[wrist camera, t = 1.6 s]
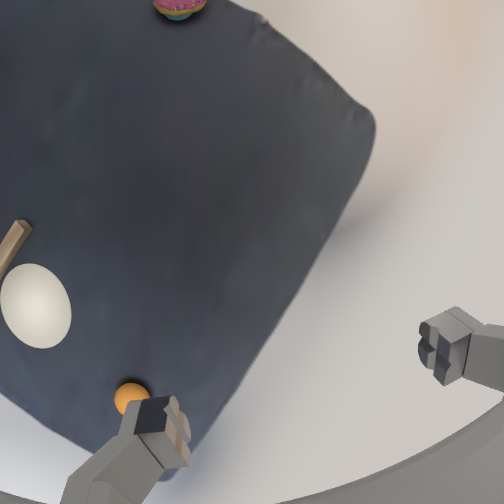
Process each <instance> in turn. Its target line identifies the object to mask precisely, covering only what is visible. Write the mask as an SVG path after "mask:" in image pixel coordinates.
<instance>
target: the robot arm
mask: <svg viewBox="0 0 504 504" xmlns="http://www.w3.org/2000/svg"><path fill="white" fill-rule="evenodd" d="M419 334H420V335H421V336H422V338H421V340H420V342H419V344H418V353H419V357H420V360H421V362H422V363H423V364H424V366H425V367H426V368H428V369H432V370H434V373H433V376H434V377H435V378H436V379H437V380H438V381H439V382H440V383H441V384H442V385H443V386H446V385H448V384H450V383H452V382H453V381H455V380H457V379H459V378H461V377H463V378H466V379H468V380H471V381H473V382H476V383H479V384H482V385H484V386H487V387H490V388H493V389H495V390H498V391H501V392H504V326H499V325H492V324H486V325H483V324H482V323H480V322H479V321H478V320H476V319H475V318H474V317H472V316H470V315H469V314H468V313H466V312H465V311H463V310H462V309H461V308H459V307H455V306H454V307H452V308H450V309H448V310H447V311H444V312H443V313H441V314H439V315H437V316H435V317H432V318H430V319H428V320H426V321H424V322H421V325H420V327H419ZM178 409H179V403H178V401H177V400H176V398H175V397H174V396H172V395H171V396H164V397H156V398H148V399H141V400H131V401H129V402H128V403H127V406H126V409H125V412H124V416H123V419H122V423H121V426H120V430H119V433H118V436H114V437H112V438H111V439H110V440H109V441H108V442H107V443H106V444H105V445H104V446H103V447H102V448H100V449H99V450H98V451H97V452H96V453H95V454H94V455H93V456H92V457H91V458H89V459H88V460H87V461H86V462H85V463H84V464H83V465H82V466H81V467H80V468H79V469H77V470H76V471H75V472H74V473H73V474H72V475H70V476H69V477H68V480H67V483H66V486H65V489H64V492H63V495H62V499H61V502H60V504H141V503H142V502H143V501H144V499H145V498H146V496H147V495H148V494H149V492H150V491H151V489H152V488H153V486H154V485H155V484H156V482H157V481H158V479H159V478H160V477H161V475H162V474H163V472H164V471H165V470H164V469H171V468H180V467H187V466H189V465H190V449H189V448H188V446H187V444H188V442H189V441H190V440H191V432H190V426H189V423H188V420H187V418H186V416H185V414H184V413H183V412H181V411H179V410H178ZM0 504H46V503H41V502H37V501H33V500H29V499H26V498H22V497H19V496H15V495H12V494H8V493H5V492H2V491H0ZM277 504H504V396H503V399H502V401H501V402H500V403H498V404H497V405H496V406H494V407H493V408H491V409H490V410H489V411H487V412H486V413H484V414H483V415H482V416H480V417H479V418H478V419H476V420H474V421H473V422H471V423H470V424H468V425H467V426H465V427H463V428H462V429H460V430H459V431H457V432H455V433H454V434H452V435H450V436H449V437H447V438H445V439H444V440H442V441H440V442H438V443H437V444H435V445H433V446H431V447H429V448H427V449H425V450H424V451H422V452H420V453H418V454H416V455H414V456H412V457H410V458H408V459H406V460H403V461H401V462H399V463H397V464H395V465H393V466H390V467H389V468H386V469H384V470H381V471H379V472H376V473H374V474H371V475H369V476H367V477H364V478H361V479H359V480H356V481H354V482H351V483H348V484H345V485H342V486H339V487H336V488H333V489H330V490H326V491H323V492H320V493H316V494H313V495H309V496H306V497H302V498H298V499H294V500H290V501H286V502H281V503H277Z"/></svg>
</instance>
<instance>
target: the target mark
mask: <svg viewBox="0 0 504 504" xmlns="http://www.w3.org/2000/svg"><path fill="white" fill-rule="evenodd" d="M0 302H1V309H2V313H3V316H4V319H5V321H6V323H7V325H8V326H9V328H10V329H11V331H12V332H13V333H14V334H15V335H16V336H17V337H18V338H19V339H20V340H21V341H23V342H24V343H26V344H28V345H30V346H32V347H36V348H49V347H52V346H55V345H56V344H58V343H59V342H60V341H62V339H63V338H64V337H65V336H66V334H67V332H68V330H69V327H70V323H71V305H70V301H69V297H68V295H67V292H66V290H65V288H64V286H63V285H62V283H61V282H60V280H59V279H58V278H57V277H56V276H55V275H54V274H53V273H52V272H51V271H49V270H48V269H46V268H44V267H43V266H40V265H37V264H29V263H28V264H22V265H19V266H17V267H15V268H14V269H12V270H11V271H10V272H9V273H8V275H7V276H6V278H5V280H4V282H3V284H2V288H1V294H0Z"/></svg>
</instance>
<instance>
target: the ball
mask: <svg viewBox="0 0 504 504" xmlns="http://www.w3.org/2000/svg"><path fill="white" fill-rule="evenodd" d="M148 398H150V396H149V394H148V392H147V391H146V389H145V388H143V387H142V386H141V385H139V384H135V383H126V384H124V385H122V386H120V387H119V388H118V390H117V391H116V393H115V398H114V399H115V405H116V407H117V409H118V410H119V412H120V413H121V414H123V415H124V412H125V409H126V406H127V403H128V402H129V401H131V400H141V399H148Z"/></svg>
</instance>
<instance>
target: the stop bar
mask: <svg viewBox="0 0 504 504" xmlns="http://www.w3.org/2000/svg"><path fill="white" fill-rule="evenodd" d="M32 230H33V228H32V227H31V226H30V225H29V224H28V223H27V222H26V220H16V221H15V222H14V224H13V225H12V227H11V229H10V230H9V232H8V233H7V235H6V236H5V238H4V240H3V241H2V243H1V245H0V281H1V279H2V277H3V275H4V274H5V272H6V270H7V269H8V267H9V265H10V264H11V262H12V260H13V259H14V257H15V256H16V254H17V252H18V251H19V249H20V248H21V246H22V245H23V243H24V242H25V240H26V239H27V237H28V236H29V234H30V233H31V231H32Z"/></svg>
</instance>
